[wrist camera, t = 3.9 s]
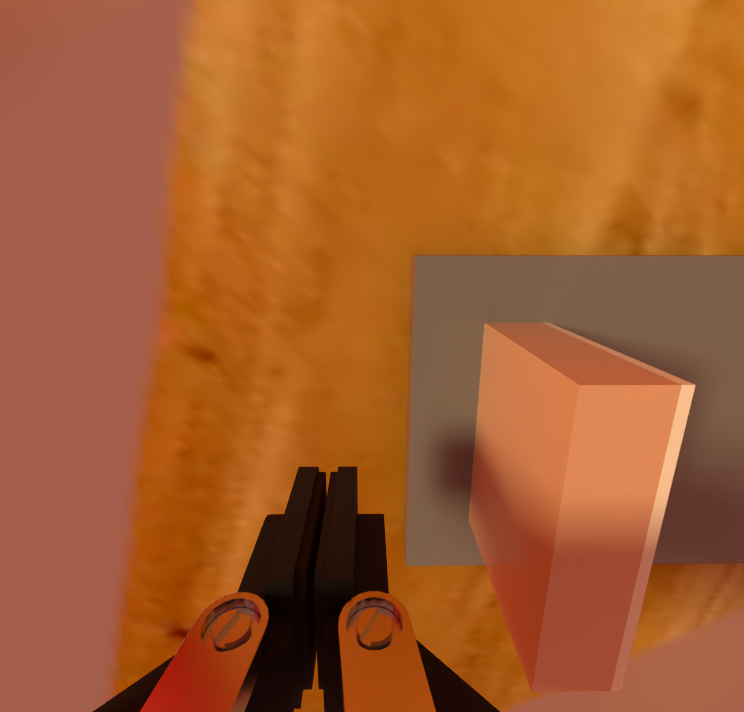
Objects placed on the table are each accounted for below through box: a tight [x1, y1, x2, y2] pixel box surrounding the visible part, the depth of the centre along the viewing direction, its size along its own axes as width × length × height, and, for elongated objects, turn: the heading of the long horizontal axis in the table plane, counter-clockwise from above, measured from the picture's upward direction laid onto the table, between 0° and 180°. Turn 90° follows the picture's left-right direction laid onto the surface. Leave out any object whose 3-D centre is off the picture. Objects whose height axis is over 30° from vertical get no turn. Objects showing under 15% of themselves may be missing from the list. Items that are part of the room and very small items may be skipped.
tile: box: [468, 323, 695, 692], centre depth 13 cm, size 2×9×7 cm, turn 0°
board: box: [404, 255, 744, 566], centre depth 17 cm, size 18×14×1 cm
